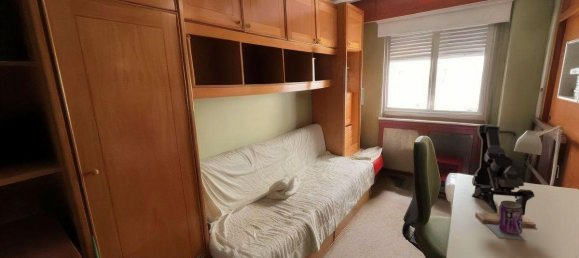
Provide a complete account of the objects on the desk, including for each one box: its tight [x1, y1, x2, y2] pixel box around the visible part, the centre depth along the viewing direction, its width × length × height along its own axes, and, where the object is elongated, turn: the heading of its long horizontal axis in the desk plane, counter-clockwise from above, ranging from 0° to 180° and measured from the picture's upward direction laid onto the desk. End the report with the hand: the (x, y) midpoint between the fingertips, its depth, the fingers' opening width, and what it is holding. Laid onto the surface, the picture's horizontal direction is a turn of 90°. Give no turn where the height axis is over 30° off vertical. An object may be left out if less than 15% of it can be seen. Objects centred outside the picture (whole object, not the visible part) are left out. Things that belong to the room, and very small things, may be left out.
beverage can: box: [498, 200, 524, 235], centre depth 101 cm, size 7×7×12 cm
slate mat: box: [485, 223, 526, 241], centre depth 102 cm, size 9×9×1 cm
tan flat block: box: [474, 212, 537, 228], centre depth 110 cm, size 20×6×2 cm, turn 79°
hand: (509, 213), depth 99 cm, fingers open, 9 cm apart
